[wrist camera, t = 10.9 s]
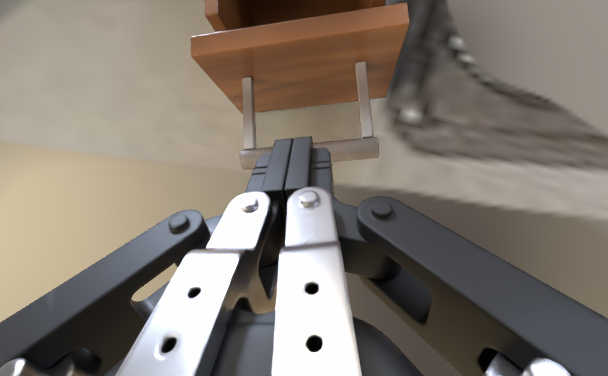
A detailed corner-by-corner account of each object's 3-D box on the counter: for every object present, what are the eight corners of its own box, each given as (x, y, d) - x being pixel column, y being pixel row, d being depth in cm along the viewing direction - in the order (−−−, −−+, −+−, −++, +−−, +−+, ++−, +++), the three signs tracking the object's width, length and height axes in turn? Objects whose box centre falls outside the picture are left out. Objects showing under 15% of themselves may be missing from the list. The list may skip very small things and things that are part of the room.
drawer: (393, 171, 20) (424, 138, 13) (244, 184, 22) (190, 161, 14) (369, -55, 23) (381, -194, 15) (238, -30, 25) (190, -147, 17)
